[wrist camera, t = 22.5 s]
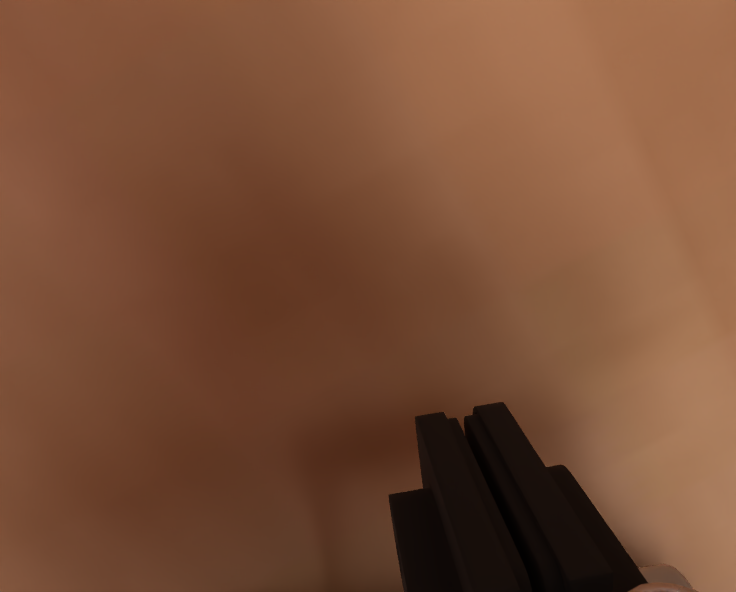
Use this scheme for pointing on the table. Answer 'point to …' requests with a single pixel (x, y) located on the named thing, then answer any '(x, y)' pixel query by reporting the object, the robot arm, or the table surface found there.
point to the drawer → (664, 575)
